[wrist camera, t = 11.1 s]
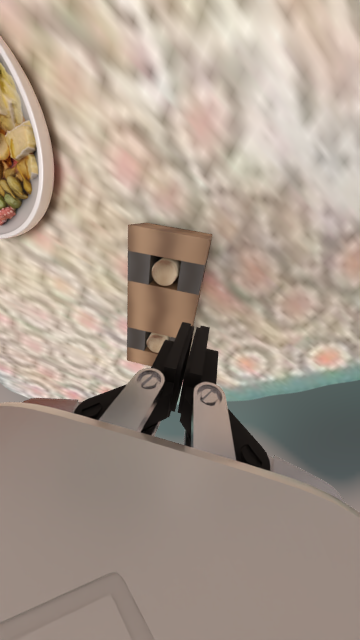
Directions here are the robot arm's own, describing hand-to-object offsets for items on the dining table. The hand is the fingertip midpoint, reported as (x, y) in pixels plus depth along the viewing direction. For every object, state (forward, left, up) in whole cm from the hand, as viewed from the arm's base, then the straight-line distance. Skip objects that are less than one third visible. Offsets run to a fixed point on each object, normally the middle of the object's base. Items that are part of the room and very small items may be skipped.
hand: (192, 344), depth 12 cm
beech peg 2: (+7, +16, -28) cm, 32 cm away
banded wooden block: (+7, +9, -28) cm, 30 cm away
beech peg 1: (+7, +2, -28) cm, 28 cm away
